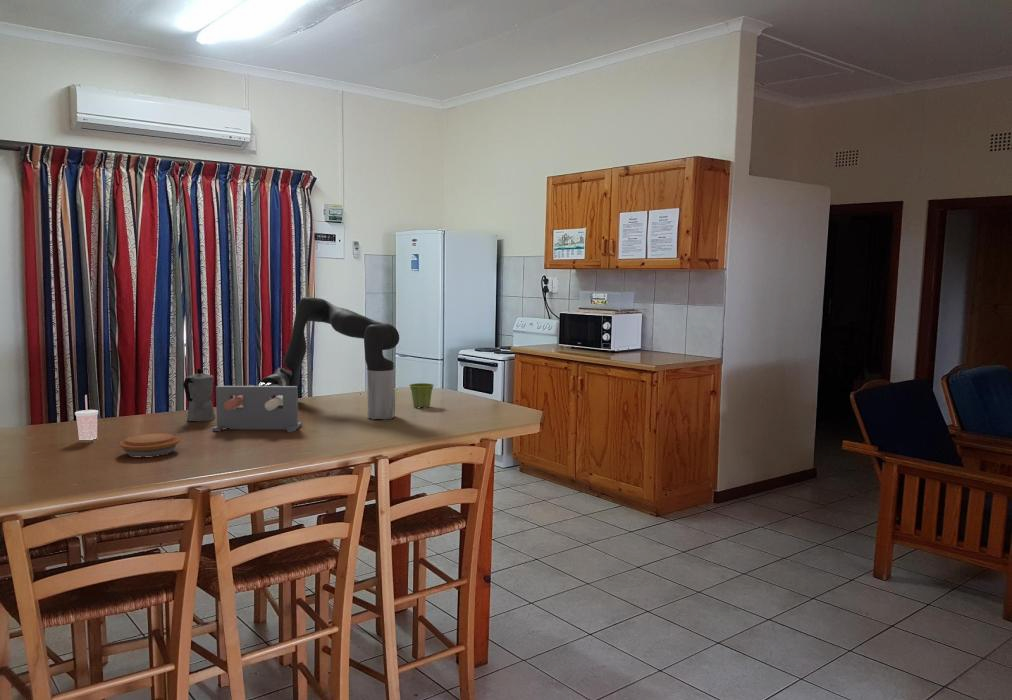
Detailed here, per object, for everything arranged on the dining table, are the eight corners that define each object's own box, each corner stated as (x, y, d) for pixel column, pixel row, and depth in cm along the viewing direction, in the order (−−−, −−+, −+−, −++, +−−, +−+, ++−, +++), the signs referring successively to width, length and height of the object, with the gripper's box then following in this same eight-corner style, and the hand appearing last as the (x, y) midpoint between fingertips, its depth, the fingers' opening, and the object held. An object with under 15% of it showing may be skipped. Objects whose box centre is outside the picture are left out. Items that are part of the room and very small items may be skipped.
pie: (109, 460, 200) (108, 442, 200) (134, 447, 216) (133, 430, 215) (168, 460, 201) (167, 442, 201) (188, 447, 217) (187, 430, 216)
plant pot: (409, 405, 288) (409, 383, 287) (433, 404, 289) (433, 382, 289) (409, 409, 279) (409, 386, 278) (434, 409, 280) (434, 386, 279)
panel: (301, 425, 247) (300, 384, 246) (293, 432, 237) (292, 388, 236) (224, 425, 247) (222, 384, 246) (212, 431, 237) (210, 388, 236)
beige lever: (291, 405, 249) (290, 391, 248) (277, 413, 234) (276, 398, 233) (276, 405, 249) (276, 391, 248) (261, 413, 234) (261, 398, 233)
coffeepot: (200, 415, 265) (198, 365, 263) (224, 416, 263) (222, 366, 261) (173, 423, 250) (171, 371, 248) (198, 425, 248) (196, 371, 246)
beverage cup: (73, 443, 220) (70, 396, 218) (81, 439, 226) (78, 393, 224) (95, 442, 221) (92, 396, 219) (102, 438, 227) (100, 393, 226)
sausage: (252, 404, 249) (252, 390, 248) (236, 413, 234) (235, 398, 233) (238, 404, 249) (237, 390, 248) (220, 413, 234) (220, 398, 233)
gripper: (255, 375, 278) (238, 381, 261) (290, 375, 278) (276, 381, 261) (255, 394, 279) (239, 402, 261) (290, 394, 279) (276, 402, 261)
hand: (257, 392), depth 261 cm, fingers closed
